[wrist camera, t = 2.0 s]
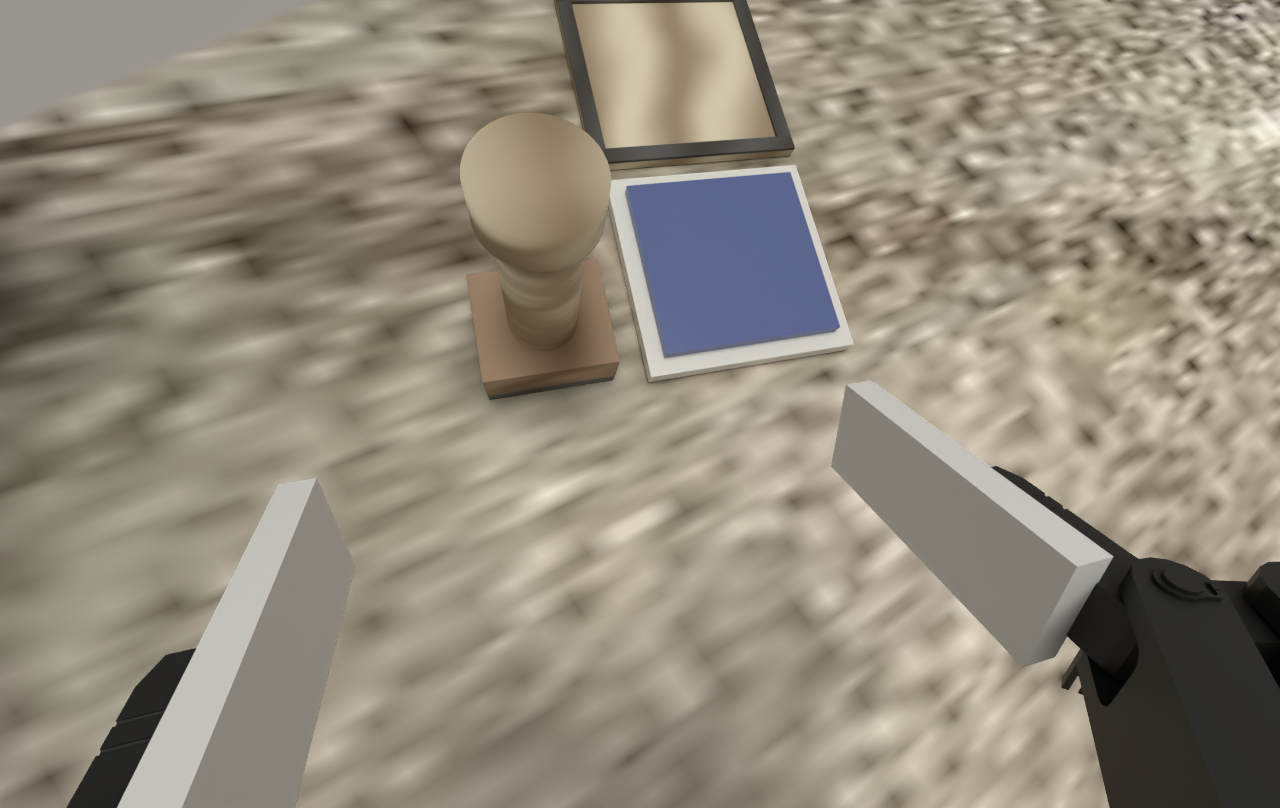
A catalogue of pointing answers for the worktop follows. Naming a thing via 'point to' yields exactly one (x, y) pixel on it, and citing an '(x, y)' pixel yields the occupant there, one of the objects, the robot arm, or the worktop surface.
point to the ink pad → (724, 271)
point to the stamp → (538, 255)
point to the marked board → (672, 81)
